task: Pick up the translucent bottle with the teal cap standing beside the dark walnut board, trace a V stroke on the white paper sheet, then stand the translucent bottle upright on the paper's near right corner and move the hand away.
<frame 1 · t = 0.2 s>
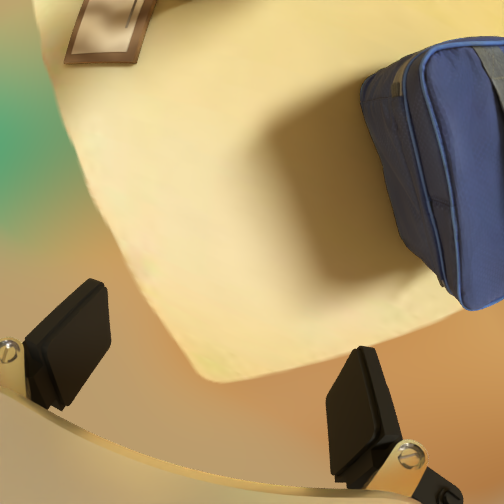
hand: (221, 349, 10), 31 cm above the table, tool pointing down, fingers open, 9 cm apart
board: (114, 15, 30), on the table
lunch bag: (440, 155, 34), on the table
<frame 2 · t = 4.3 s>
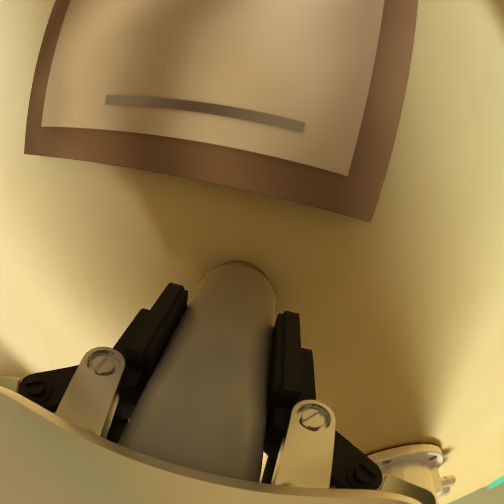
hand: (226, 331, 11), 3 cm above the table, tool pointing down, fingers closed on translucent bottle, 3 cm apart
translucent bottle: (238, 289, 14), on the table, touching gripper
board: (204, 19, 9), on the table
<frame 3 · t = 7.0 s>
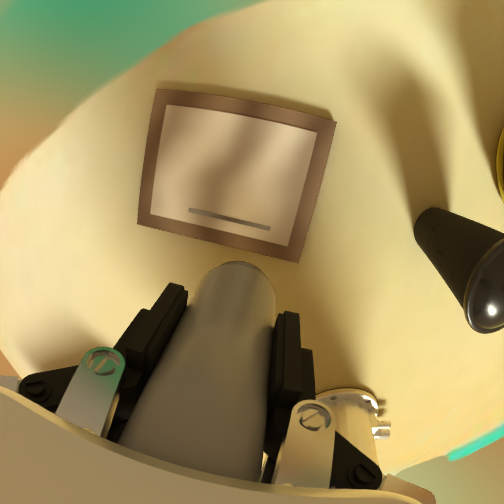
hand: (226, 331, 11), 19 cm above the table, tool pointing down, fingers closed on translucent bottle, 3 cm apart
translucent bottle: (238, 289, 14), point 16 cm above the table, touching gripper
board: (229, 171, 28), on the table
drinking cup: (432, 228, 27), on the table
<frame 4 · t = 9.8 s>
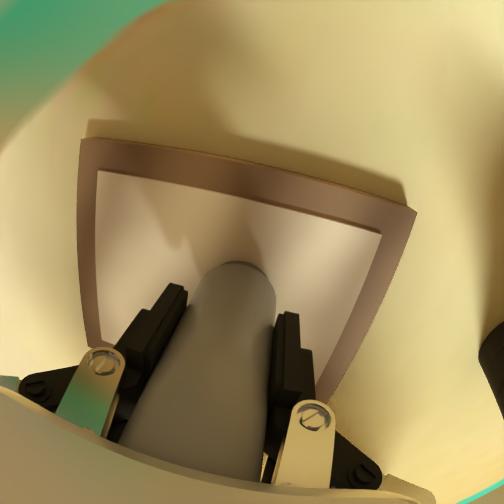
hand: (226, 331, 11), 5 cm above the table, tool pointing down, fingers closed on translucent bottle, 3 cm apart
translucent bottle: (239, 289, 14), point 2 cm above the table, touching gripper
board: (218, 288, 16), on the table
drinking cup: (500, 341, 16), on the table
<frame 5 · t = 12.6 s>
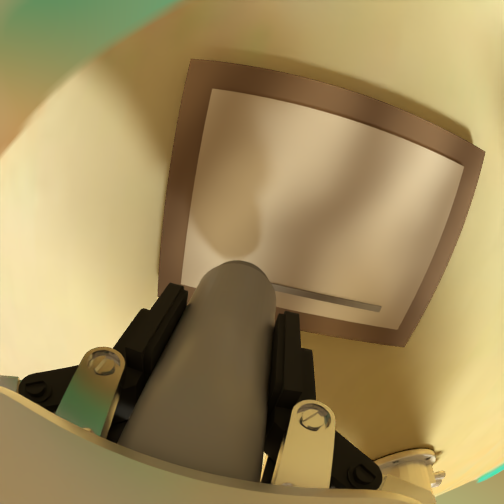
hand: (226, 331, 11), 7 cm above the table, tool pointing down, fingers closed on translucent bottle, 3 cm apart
translucent bottle: (239, 288, 14), point 4 cm above the table, touching gripper
board: (322, 216, 16), on the table
when the fingers open (6 cm above the table, at t = 15.1 s): translucent bottle drops 1 cm, resting on board.
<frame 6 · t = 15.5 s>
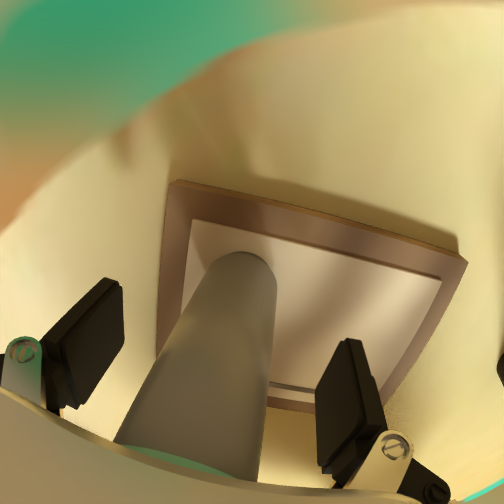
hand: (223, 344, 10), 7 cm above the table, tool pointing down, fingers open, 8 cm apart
translucent bottle: (242, 278, 15), point 1 cm above the table, touching board
board: (299, 324, 18), on the table
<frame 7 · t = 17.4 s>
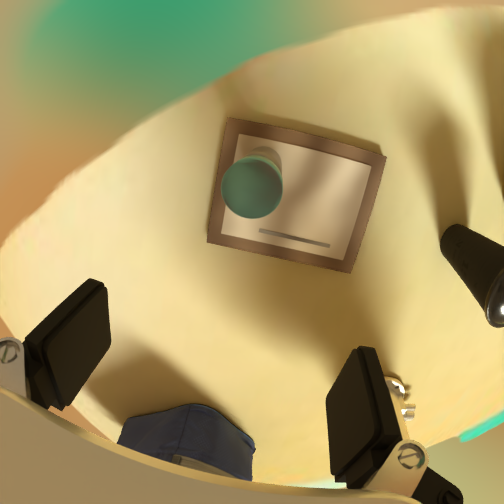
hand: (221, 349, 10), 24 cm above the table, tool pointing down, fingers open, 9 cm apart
translucent bottle: (263, 163, 29), point 1 cm above the table, touching board
board: (294, 196, 32), on the table
drinking cup: (454, 241, 32), on the table
lunch bag: (187, 435, 54), on the table
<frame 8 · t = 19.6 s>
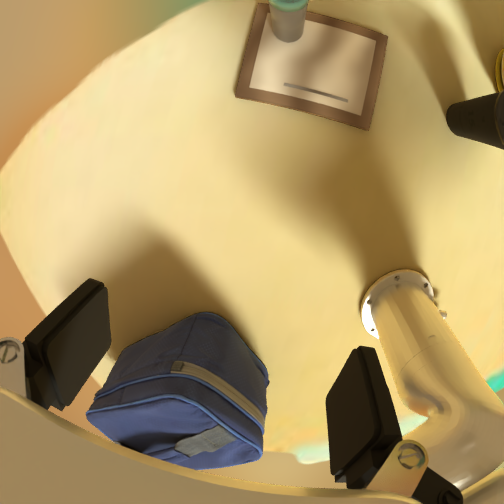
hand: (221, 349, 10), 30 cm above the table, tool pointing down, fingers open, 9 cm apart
translucent bottle: (288, 32, 28), point 1 cm above the table, touching board
board: (314, 62, 31), on the table
drinking cup: (458, 119, 31), on the table
lunch bag: (190, 368, 52), on the table
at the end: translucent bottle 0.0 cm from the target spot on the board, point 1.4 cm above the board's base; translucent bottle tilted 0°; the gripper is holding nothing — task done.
